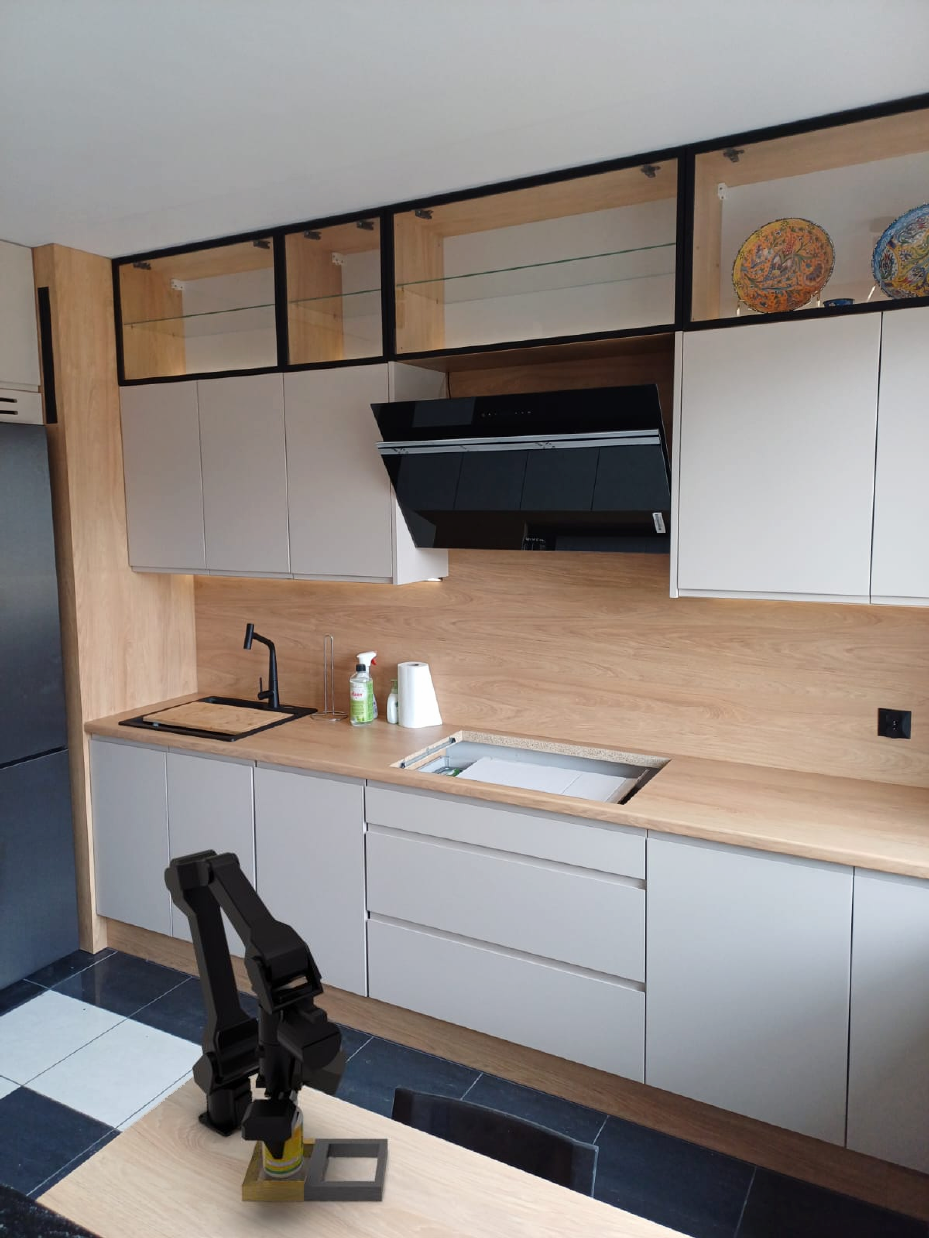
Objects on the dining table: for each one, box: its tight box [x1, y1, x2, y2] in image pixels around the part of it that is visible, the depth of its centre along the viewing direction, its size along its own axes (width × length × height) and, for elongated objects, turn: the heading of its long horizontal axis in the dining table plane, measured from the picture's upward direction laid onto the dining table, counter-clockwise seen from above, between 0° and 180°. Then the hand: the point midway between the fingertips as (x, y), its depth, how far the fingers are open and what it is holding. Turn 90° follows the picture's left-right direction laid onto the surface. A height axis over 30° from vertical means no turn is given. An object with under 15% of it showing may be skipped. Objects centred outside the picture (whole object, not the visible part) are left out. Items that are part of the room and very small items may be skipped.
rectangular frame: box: [240, 1137, 389, 1202], centre depth 117 cm, size 18×9×2 cm, turn 90°
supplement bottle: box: [262, 1091, 304, 1179], centre depth 117 cm, size 5×5×10 cm
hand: (282, 1143), depth 117 cm, fingers closed on supplement bottle, 5 cm apart
